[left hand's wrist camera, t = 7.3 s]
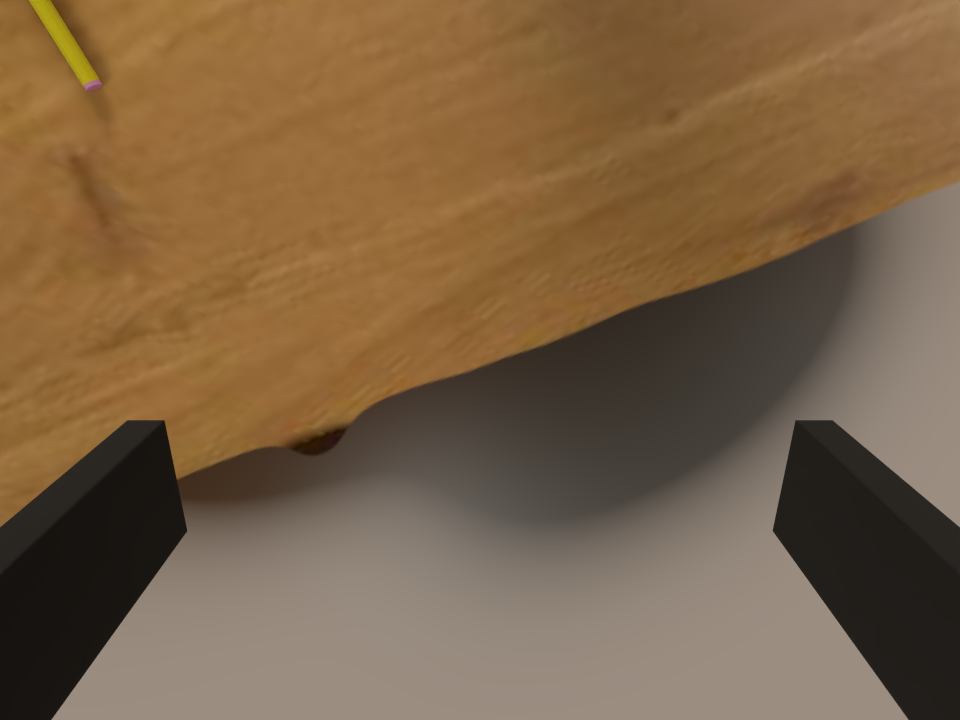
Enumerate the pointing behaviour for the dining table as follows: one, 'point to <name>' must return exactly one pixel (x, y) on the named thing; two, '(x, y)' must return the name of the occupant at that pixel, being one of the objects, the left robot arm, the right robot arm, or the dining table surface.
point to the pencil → (67, 44)
